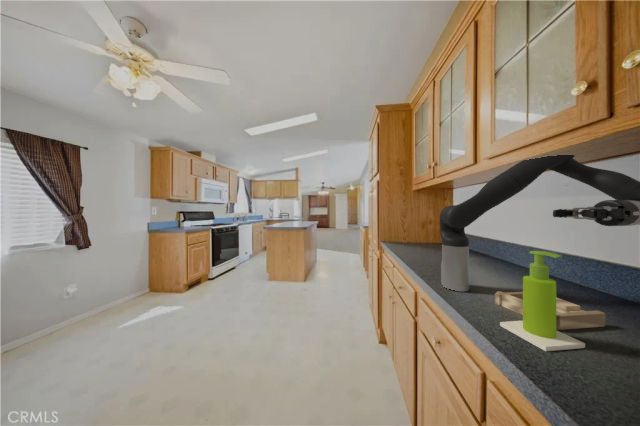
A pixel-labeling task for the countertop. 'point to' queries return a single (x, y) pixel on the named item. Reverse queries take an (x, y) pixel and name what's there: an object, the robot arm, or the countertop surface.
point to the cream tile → (544, 343)
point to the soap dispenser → (539, 298)
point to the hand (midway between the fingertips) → (572, 213)
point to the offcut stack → (566, 306)
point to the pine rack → (562, 319)
